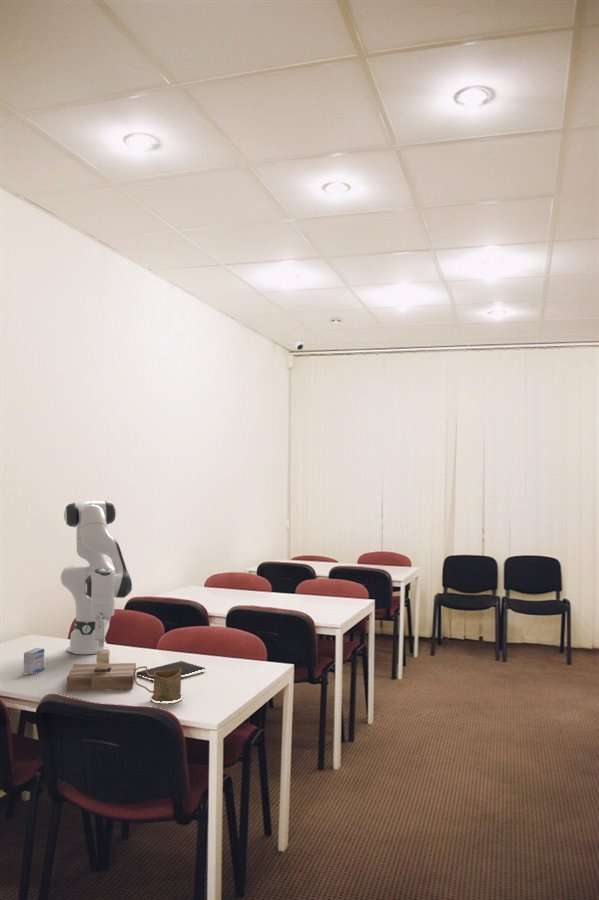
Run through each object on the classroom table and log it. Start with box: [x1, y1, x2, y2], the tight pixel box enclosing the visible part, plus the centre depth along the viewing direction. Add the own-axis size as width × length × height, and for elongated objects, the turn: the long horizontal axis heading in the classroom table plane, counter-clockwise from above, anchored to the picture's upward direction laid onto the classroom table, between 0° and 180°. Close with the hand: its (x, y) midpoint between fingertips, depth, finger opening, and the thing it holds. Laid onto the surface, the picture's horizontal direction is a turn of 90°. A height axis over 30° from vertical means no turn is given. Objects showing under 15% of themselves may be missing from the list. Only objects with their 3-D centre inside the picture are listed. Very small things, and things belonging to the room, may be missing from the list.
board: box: [65, 662, 137, 692], centre depth 269 cm, size 18×24×5 cm
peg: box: [95, 649, 110, 672], centre depth 269 cm, size 4×4×12 cm
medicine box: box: [22, 647, 45, 675], centre depth 281 cm, size 8×4×9 cm, turn 168°
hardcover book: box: [135, 660, 206, 679], centre depth 283 cm, size 16×23×2 cm
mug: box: [134, 665, 183, 702], centre depth 251 cm, size 12×18×12 cm, turn 103°
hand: (101, 646), depth 270 cm, fingers closed
